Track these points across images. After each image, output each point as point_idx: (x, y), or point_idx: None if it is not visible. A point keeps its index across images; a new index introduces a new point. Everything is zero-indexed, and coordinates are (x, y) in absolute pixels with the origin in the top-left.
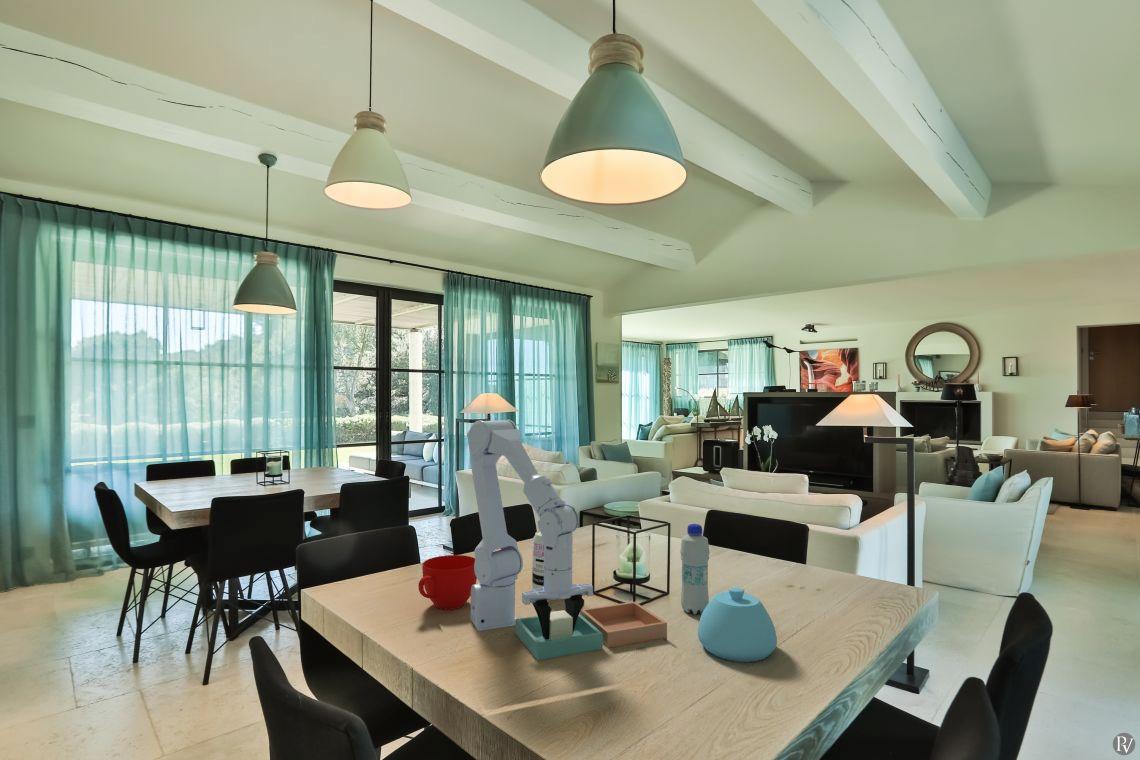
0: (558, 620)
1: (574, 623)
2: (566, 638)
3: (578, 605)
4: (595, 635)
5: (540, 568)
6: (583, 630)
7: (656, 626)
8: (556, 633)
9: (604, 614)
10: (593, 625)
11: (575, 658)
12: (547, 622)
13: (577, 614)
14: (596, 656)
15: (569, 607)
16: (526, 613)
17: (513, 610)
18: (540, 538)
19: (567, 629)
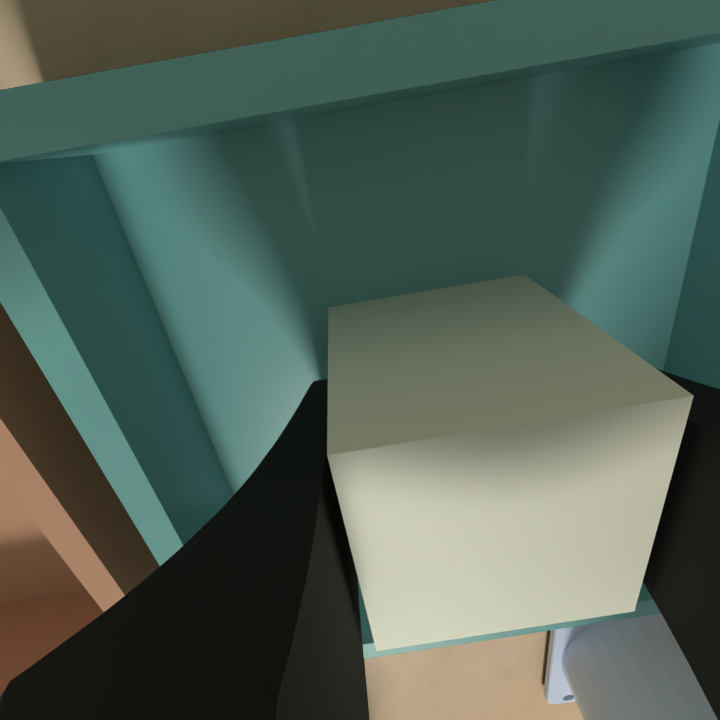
0: (563, 412)
1: (293, 434)
2: (507, 43)
3: (160, 671)
4: (22, 92)
5: None
6: (202, 461)
7: None
8: (520, 324)
9: (15, 642)
10: (90, 475)
11: (359, 21)
12: (702, 407)
13: (234, 516)
14: (126, 12)
15: (345, 662)
16: (467, 692)
17: (629, 700)
18: None
19: (392, 357)
